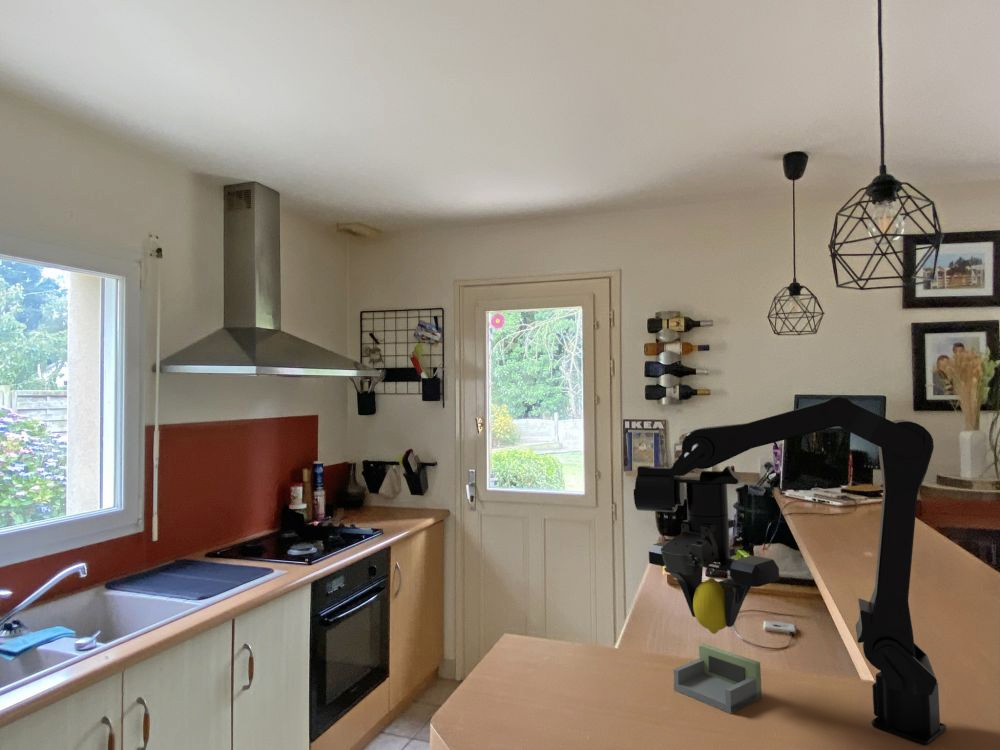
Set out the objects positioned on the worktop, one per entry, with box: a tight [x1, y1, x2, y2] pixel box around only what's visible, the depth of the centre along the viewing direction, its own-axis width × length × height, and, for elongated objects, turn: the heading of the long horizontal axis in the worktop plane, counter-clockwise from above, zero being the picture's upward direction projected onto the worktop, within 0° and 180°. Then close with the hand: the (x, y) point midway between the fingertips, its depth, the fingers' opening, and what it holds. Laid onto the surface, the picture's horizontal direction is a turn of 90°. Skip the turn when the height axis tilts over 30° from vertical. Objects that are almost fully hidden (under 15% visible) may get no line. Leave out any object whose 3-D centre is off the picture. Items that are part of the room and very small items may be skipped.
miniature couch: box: [673, 643, 763, 714], centre depth 96 cm, size 10×8×5 cm
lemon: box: [693, 577, 727, 635], centre depth 96 cm, size 6×6×8 cm
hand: (712, 621), depth 96 cm, fingers closed on lemon, 5 cm apart
